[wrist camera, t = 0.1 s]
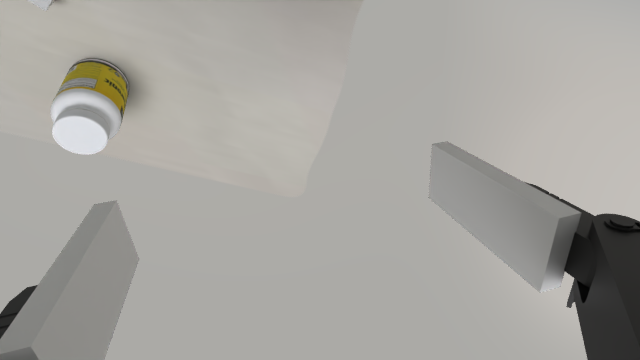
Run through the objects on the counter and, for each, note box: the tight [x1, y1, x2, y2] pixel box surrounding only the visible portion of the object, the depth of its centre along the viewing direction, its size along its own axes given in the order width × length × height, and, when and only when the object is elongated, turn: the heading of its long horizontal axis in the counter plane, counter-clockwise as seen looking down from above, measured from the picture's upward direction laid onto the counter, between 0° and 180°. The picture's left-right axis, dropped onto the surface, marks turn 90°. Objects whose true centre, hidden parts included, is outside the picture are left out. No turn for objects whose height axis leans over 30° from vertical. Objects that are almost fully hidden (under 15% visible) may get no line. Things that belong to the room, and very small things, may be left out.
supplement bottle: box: [50, 59, 129, 155], centre depth 33 cm, size 5×5×10 cm
